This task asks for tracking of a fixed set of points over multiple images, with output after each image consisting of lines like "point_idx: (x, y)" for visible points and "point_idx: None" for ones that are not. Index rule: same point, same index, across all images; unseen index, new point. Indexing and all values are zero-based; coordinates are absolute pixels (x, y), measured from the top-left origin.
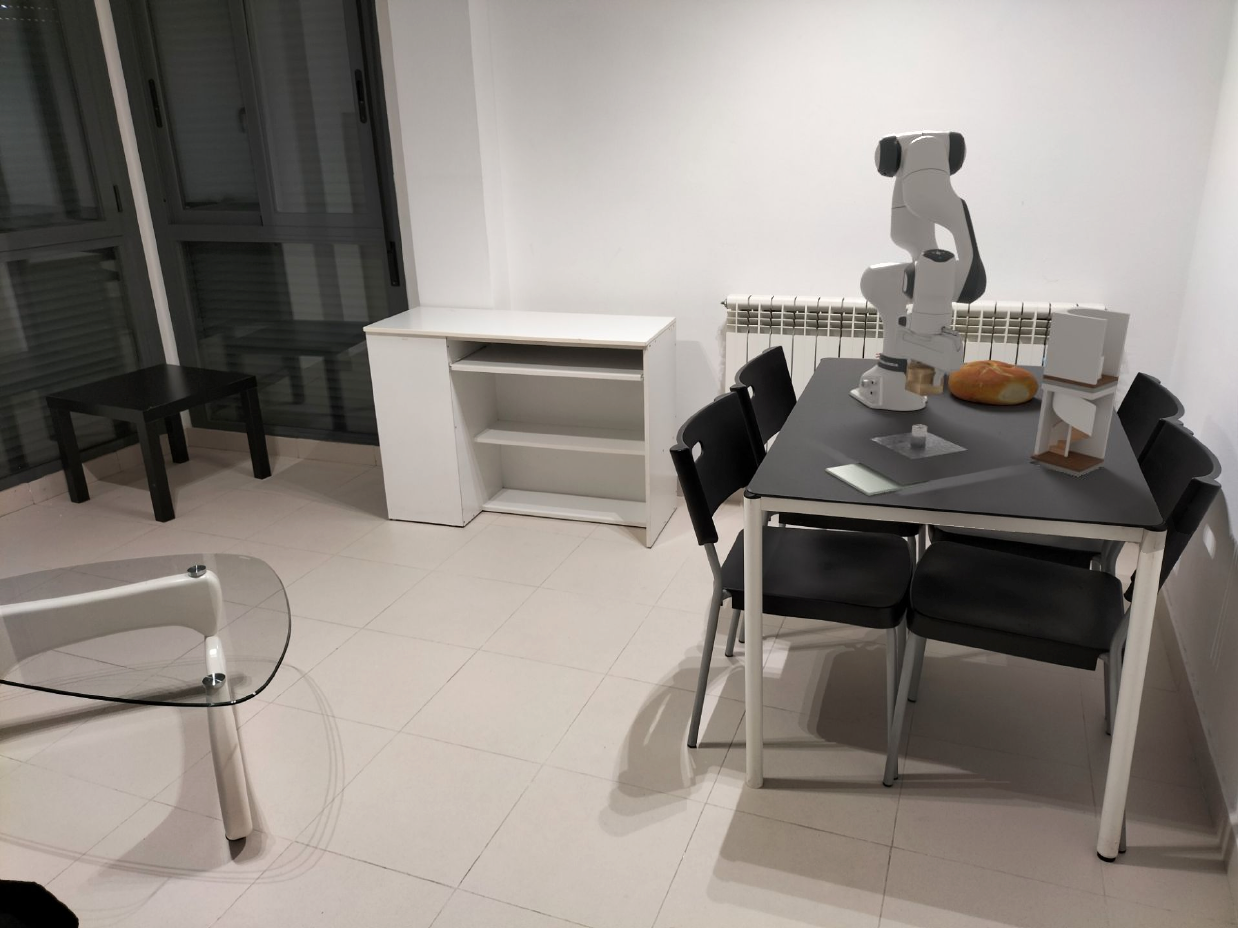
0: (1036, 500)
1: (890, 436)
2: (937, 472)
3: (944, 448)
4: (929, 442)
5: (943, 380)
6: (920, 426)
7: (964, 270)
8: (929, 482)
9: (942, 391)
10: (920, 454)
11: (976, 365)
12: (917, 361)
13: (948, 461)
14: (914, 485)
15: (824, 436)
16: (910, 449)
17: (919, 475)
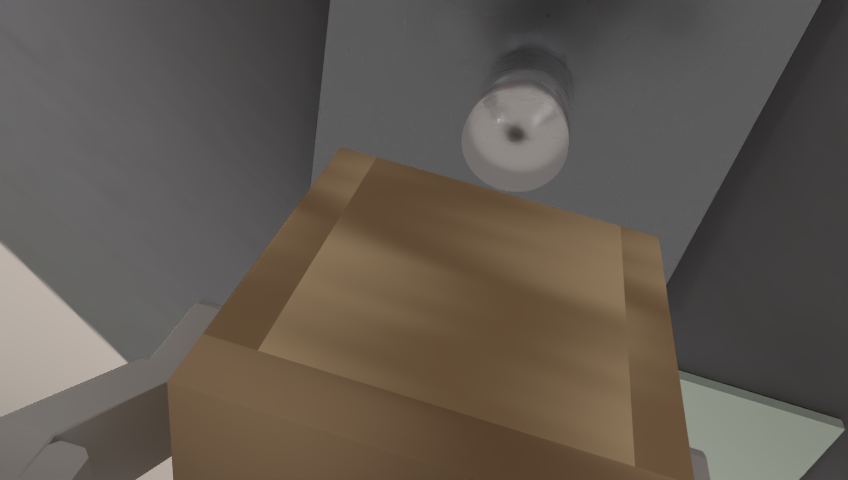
0: None
1: (333, 99)
2: (805, 288)
3: (701, 36)
4: (556, 7)
5: (673, 358)
6: (518, 144)
7: None
8: (842, 428)
9: (659, 248)
10: (642, 230)
11: None
12: (85, 470)
13: (781, 109)
14: (798, 476)
15: (137, 239)
16: (554, 202)
17: (747, 364)
